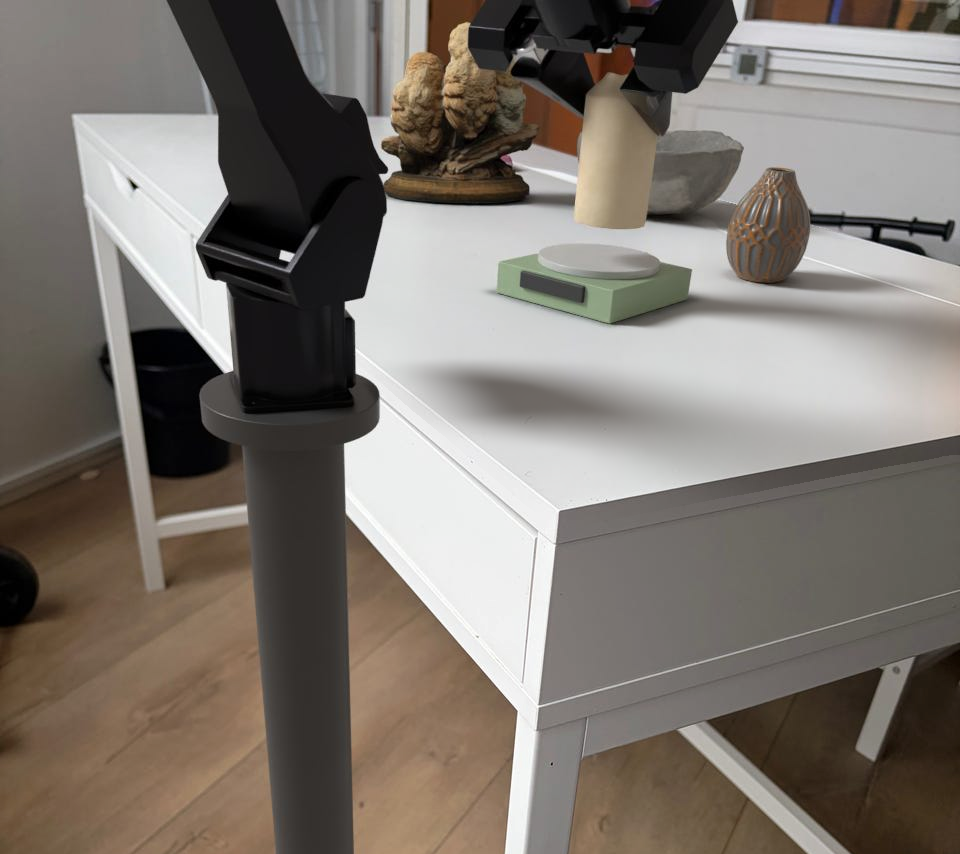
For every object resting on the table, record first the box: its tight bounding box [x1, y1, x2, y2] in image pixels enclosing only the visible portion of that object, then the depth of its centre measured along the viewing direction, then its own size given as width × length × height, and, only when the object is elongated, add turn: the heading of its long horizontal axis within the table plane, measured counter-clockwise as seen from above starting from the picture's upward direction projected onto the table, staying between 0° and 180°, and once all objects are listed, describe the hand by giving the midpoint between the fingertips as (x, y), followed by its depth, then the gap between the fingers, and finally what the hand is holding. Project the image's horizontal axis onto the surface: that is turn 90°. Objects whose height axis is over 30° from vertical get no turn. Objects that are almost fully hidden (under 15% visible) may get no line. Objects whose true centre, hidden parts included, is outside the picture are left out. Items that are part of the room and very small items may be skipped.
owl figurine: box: [380, 21, 541, 204], centre depth 111 cm, size 18×12×17 cm, turn 105°
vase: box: [725, 166, 811, 284], centre depth 86 cm, size 7×7×9 cm
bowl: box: [576, 129, 745, 216], centre depth 110 cm, size 18×18×8 cm
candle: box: [573, 71, 658, 230], centre depth 74 cm, size 6×6×10 cm
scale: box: [496, 242, 693, 325], centre depth 79 cm, size 11×11×3 cm
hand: (631, 126), depth 74 cm, fingers closed on candle, 5 cm apart
